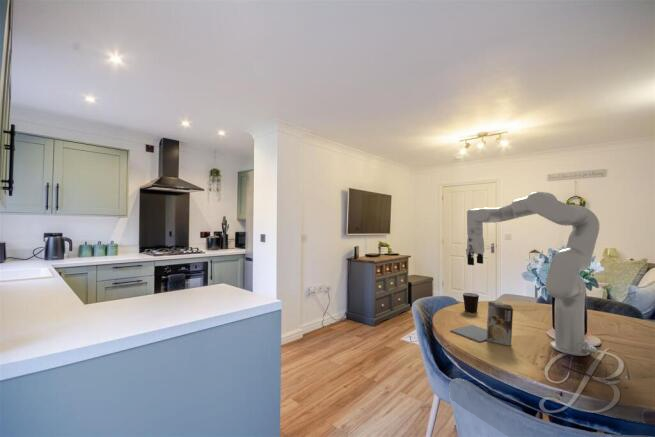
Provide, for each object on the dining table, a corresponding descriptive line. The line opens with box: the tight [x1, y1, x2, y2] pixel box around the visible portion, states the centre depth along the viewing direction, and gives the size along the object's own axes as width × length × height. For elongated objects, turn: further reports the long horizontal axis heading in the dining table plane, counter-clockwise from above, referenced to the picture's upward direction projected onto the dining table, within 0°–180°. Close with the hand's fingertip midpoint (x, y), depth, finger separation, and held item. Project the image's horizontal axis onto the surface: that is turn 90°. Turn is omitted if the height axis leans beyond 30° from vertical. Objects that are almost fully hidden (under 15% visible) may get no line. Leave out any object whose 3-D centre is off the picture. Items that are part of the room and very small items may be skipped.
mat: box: [450, 324, 488, 343], centre depth 140 cm, size 15×16×1 cm
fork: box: [560, 364, 621, 385], centre depth 102 cm, size 3×16×2 cm, turn 28°
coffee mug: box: [462, 292, 480, 314], centre depth 174 cm, size 12×9×10 cm
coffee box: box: [486, 301, 514, 347], centre depth 130 cm, size 9×6×16 cm
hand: (475, 264), depth 158 cm, fingers open, 9 cm apart
